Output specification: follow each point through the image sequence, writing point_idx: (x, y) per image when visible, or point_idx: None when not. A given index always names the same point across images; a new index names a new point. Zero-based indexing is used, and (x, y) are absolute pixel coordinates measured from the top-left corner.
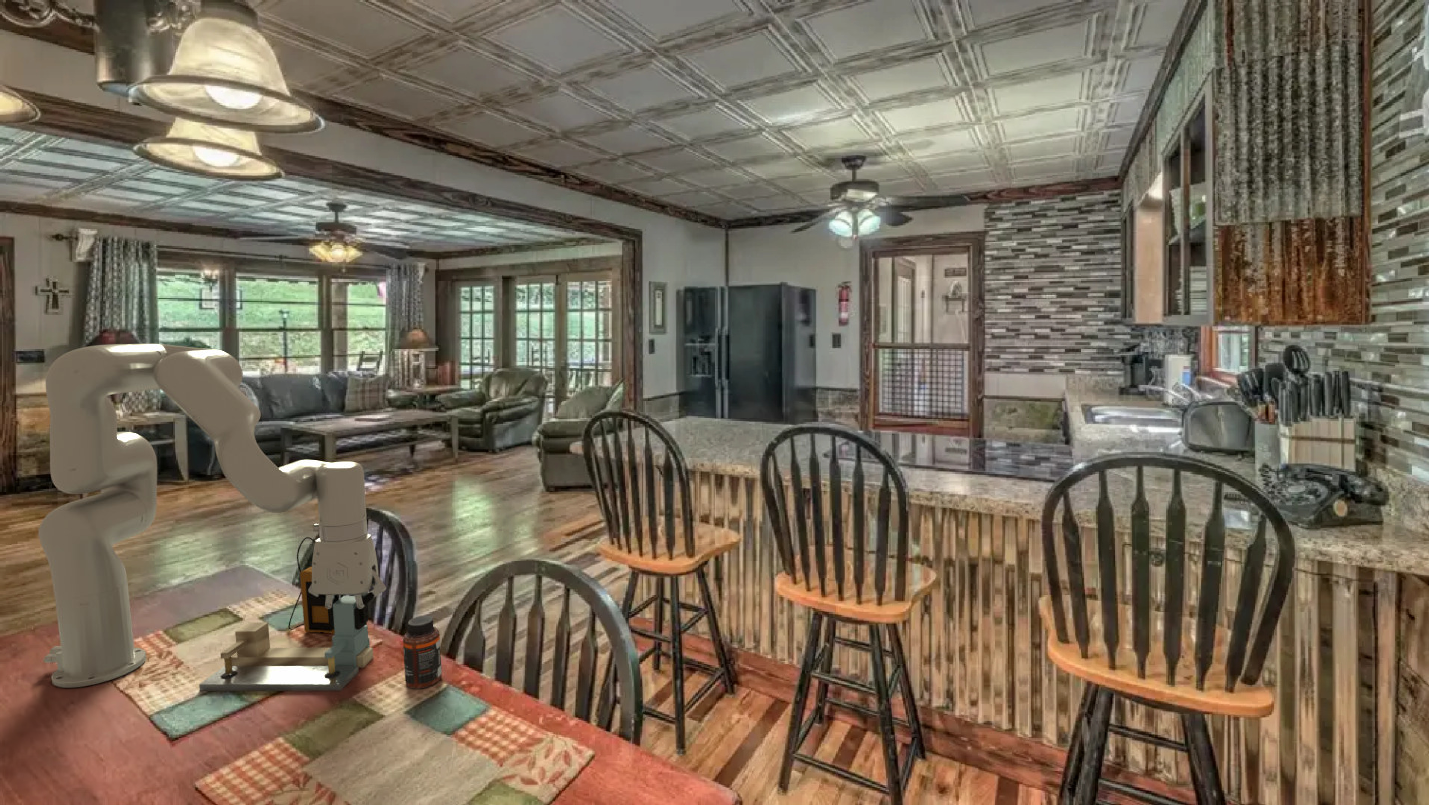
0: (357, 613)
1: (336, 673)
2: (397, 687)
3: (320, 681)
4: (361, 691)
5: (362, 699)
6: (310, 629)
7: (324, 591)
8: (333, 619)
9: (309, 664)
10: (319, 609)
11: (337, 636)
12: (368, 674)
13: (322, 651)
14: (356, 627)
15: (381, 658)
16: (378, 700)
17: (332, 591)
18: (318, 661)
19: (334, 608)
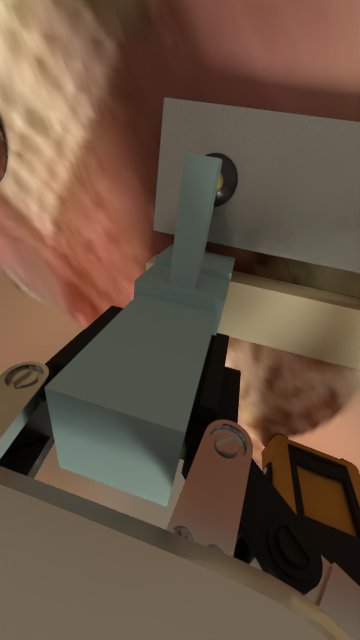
0: (68, 345)
1: None
2: (16, 106)
3: (241, 130)
4: (104, 90)
5: (77, 19)
6: (342, 465)
7: (207, 626)
8: (210, 361)
9: (311, 290)
10: (329, 516)
11: (203, 302)
12: (129, 209)
13: (279, 328)
14: (116, 310)
15: (131, 293)
16: (24, 5)
17: (83, 574)
18: (283, 288)
19: (182, 402)
